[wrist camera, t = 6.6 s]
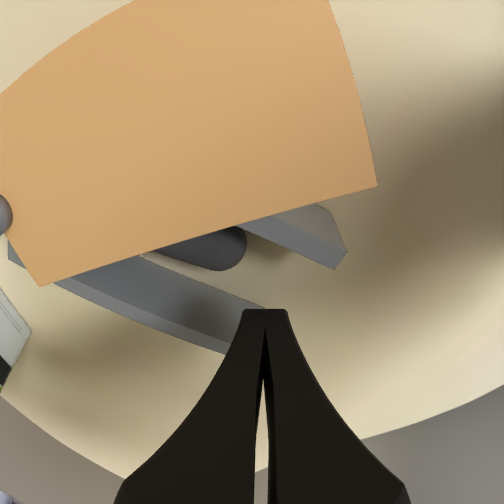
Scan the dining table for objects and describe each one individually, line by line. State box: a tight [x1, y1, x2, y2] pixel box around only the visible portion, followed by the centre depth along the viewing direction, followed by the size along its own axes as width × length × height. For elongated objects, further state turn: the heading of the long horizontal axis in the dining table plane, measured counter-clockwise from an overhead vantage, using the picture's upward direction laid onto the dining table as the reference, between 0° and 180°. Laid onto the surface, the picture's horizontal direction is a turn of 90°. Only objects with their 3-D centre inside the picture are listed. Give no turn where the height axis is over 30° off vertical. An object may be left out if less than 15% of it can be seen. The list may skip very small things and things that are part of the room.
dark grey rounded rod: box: [152, 226, 247, 271], centre depth 12 cm, size 8×2×2 cm, turn 69°
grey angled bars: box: [8, 203, 347, 355], centre depth 12 cm, size 12×7×3 cm, turn 64°
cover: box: [0, 0, 377, 287], centre depth 8 cm, size 12×7×1 cm, turn 108°
